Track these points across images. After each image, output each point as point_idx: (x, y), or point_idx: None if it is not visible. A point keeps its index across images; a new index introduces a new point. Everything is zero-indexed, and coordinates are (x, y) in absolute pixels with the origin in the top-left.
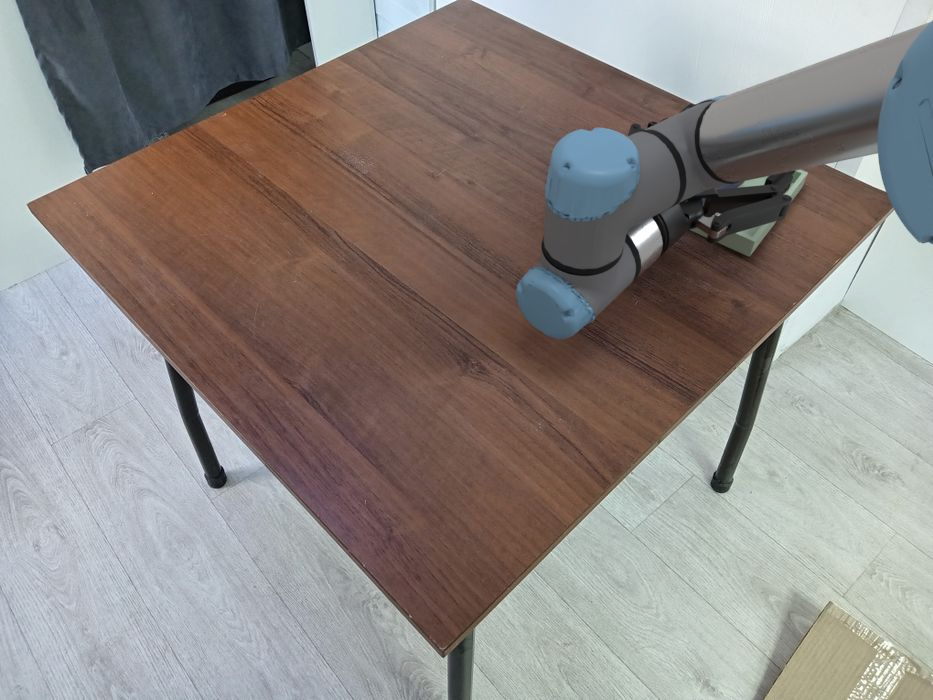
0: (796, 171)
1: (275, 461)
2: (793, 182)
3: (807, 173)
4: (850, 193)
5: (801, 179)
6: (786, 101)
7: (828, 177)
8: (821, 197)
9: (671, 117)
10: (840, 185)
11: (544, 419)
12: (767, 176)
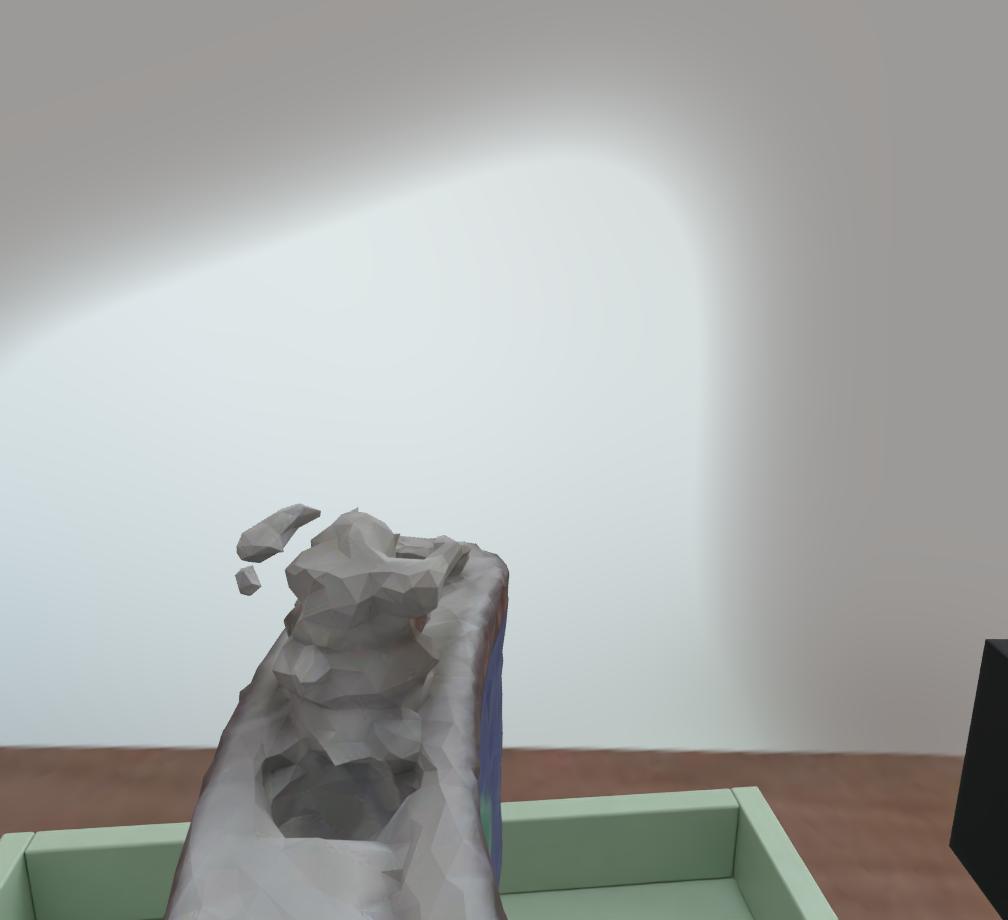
0: (710, 809)
1: None
2: (711, 875)
3: (760, 792)
4: (905, 792)
5: (784, 843)
6: None
7: (758, 766)
8: (866, 881)
9: None
10: (833, 777)
11: None
12: (571, 915)
